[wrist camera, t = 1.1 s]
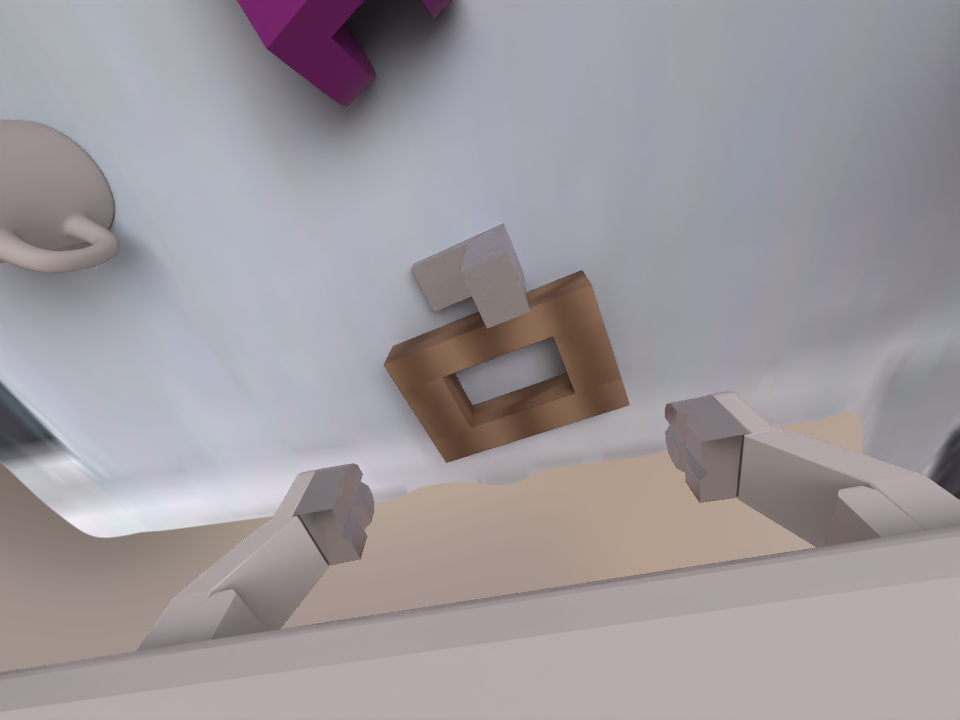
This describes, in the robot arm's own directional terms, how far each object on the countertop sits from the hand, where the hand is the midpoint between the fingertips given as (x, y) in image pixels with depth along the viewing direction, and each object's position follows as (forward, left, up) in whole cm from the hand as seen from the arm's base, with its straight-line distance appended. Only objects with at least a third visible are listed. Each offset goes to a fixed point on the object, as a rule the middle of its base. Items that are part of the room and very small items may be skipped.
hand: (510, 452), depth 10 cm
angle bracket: (+3, +1, -24) cm, 25 cm away
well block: (+4, +11, -24) cm, 27 cm away
